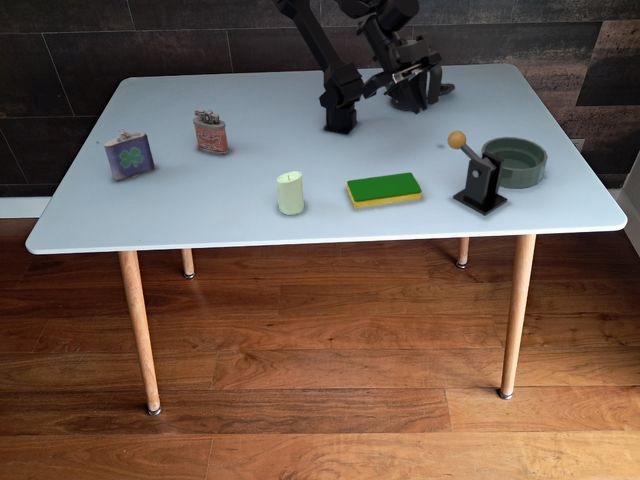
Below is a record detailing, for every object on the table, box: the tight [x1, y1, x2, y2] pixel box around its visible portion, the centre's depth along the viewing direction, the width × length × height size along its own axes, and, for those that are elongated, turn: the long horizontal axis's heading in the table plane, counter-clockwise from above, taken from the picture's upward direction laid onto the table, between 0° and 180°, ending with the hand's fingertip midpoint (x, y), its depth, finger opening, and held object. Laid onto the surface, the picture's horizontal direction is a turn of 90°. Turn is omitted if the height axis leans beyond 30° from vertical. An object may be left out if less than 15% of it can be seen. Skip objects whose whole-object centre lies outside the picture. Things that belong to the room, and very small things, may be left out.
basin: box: [479, 136, 548, 189], centre depth 123 cm, size 13×13×5 cm
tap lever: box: [447, 130, 497, 175], centre depth 114 cm, size 11×4×4 cm, turn 40°
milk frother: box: [390, 39, 456, 111], centre depth 148 cm, size 14×16×15 cm
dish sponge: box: [346, 171, 422, 210], centre depth 120 cm, size 7×14×2 cm, turn 101°
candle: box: [276, 171, 305, 216], centre depth 115 cm, size 5×5×8 cm
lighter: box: [192, 108, 230, 157], centre depth 133 cm, size 8×3×10 cm, turn 65°
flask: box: [103, 128, 156, 182], centre depth 126 cm, size 9×3×11 cm, turn 121°
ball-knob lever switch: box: [452, 151, 509, 217], centre depth 114 cm, size 8×7×10 cm
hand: (421, 111), depth 119 cm, fingers closed
